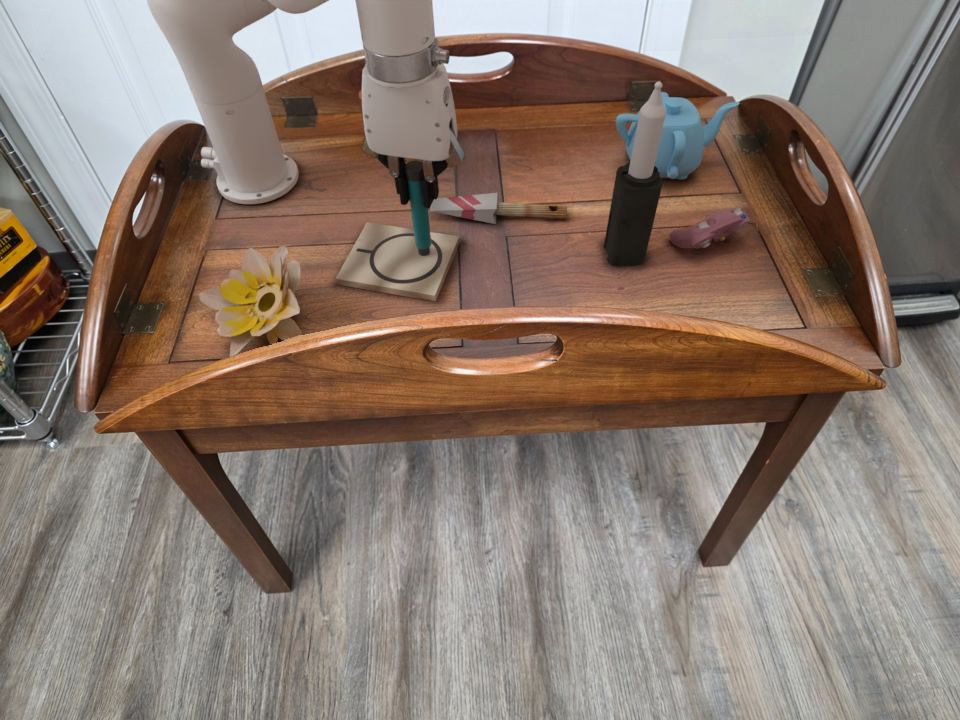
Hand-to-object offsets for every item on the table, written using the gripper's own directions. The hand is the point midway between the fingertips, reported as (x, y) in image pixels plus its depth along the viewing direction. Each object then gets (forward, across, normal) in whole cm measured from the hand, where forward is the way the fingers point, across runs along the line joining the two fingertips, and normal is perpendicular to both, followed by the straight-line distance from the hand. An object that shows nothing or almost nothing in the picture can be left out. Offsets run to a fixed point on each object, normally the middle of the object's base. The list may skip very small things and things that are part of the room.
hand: (418, 199), depth 82 cm
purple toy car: (+11, -38, -12) cm, 41 cm away
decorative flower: (+10, +17, +16) cm, 26 cm away
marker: (+9, 0, 0) cm, 9 cm away
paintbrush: (+11, -8, -12) cm, 17 cm away
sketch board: (+10, +3, +2) cm, 11 cm away
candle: (+11, -27, -8) cm, 30 cm away
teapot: (+11, -31, -30) cm, 44 cm away
